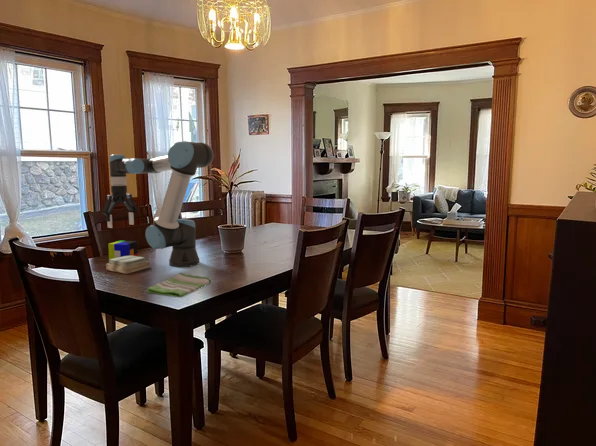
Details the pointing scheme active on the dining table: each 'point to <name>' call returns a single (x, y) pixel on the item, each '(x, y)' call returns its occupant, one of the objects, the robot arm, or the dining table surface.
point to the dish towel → (179, 285)
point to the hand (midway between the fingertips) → (121, 226)
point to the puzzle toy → (122, 249)
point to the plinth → (127, 269)
